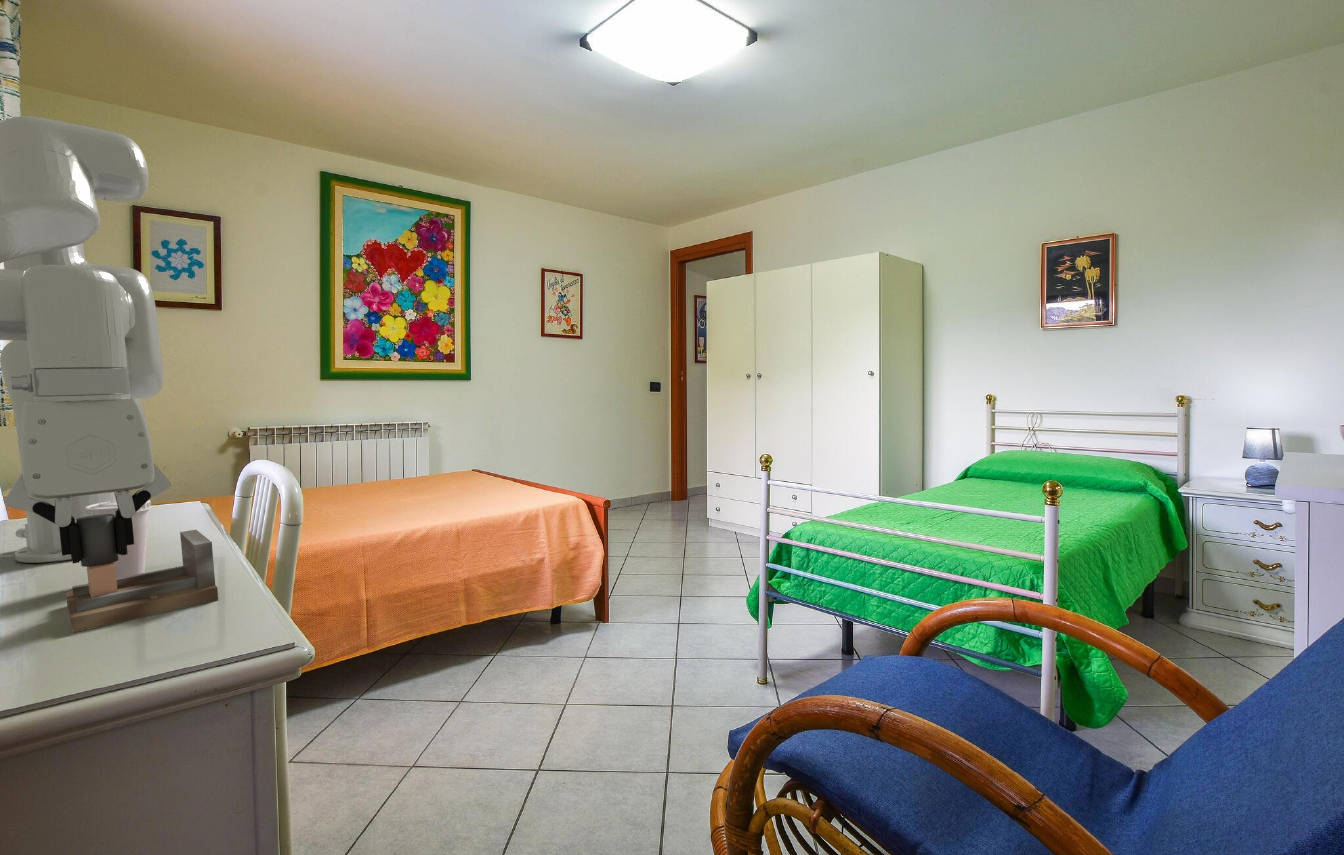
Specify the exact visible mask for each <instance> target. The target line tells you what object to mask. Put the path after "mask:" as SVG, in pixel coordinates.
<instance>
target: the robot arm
mask: <svg viewBox="0 0 1344 855" xmlns="http://www.w3.org/2000/svg"><path fill="white" fill-rule="evenodd" d="M148 168H149V167H148V164H147V161H146V158H145V155H144V153H143V151H142V150H141V148H140V147H139V145H138V144H137V143H136V142H135V141H134V140H133V139H132V138H130V137H128V136H126V135H125V134H123V133H119V132H115V131H109V130H105V129H99V128H95V127H90V126H84V125H79V124H75V123H69V122H66V121H65V122H64V121H60V120H56V119H50V118H45V117H39V116H27V115H26V116H24V115H22V116H14V117H10V118H7V119H5V120H0V264H3V268H0V341H9V342H8V343H7V344H6V345H5V346H3V348H2V349H1V352H0V371H1V374H2V378H3V381H4V383H5V387H6V391H7V392H8V396H9V399H10V403H11V407H12V412H13V417H14V422H15V428H16V436H17V443H18V450H19V460H20V470H21V473H20V474H19V477H17V479H16V481H15V483H14V484H13V485H12V487H11V489H10V490H9V492H8V494H7V495H6V497H5V499H4V505H5V506H6V507H8V508H11V509H17V510H20V511H24V512H26V514H25V515H26V523H25V524H24V528H21V527H20V528H18V529H17V530H16V531H15V536H16V537H17V538H20V539H21V538H22V539H23V538H24V539H26V540H25V541H26V546H25V547H21V548H19V549H18V550H16V551H15V552H14V556H15V557H14V558H15V561H17V562H19V563H26V564H27V563H28V564H29V563H30V564H31V563H32V564H35V563H36V564H37V563H52V562H63V561H68V560H70V561H71V563H72V564H77V563H78V564H79V563H80V562H81V561H82V557H81V547H80V538H79V528H78V524H77V519H78V518H81V517H86V516H85V511H84V508H85V507H87V506H89V505H93V504H97V503H102V502H109V501H111V499H110V492H114V494H115V498H116V502H117V507H118V510H117V511H116V512H115V513H116V515H115V517H114V518H115V529H116V539H117V550H118V554H119V555H120V554H121V555H127V545H133V544H134V535H133V524H132V517H133V516H134V515H135V513H136V512H137V511H138V510H139V509H140V508H141V507H142V506H143V505H144V504H145V503H146V502H147V501H148V500H150V499H152V498H154V497H156V496H157V495H160V494H162V493H163V492H165V491H168V490H169V489H170V488H171V486H172V482H171V481H170V480H169V479H168V478H167V477H166V475H165V474H164V472H162V471H161V469H160V468H159V467H158V466H157V464H156V463H155V461H154V455H153V448H152V442H151V436H150V430H149V429H150V428H149V425H148V421H147V417H146V413H145V410H144V406H143V404H142V401H141V400H142V399H143V400H144V399H148V398H153V397H155V396H156V395H158V394H159V393H160V391H162V389H163V384H164V365H163V356H162V355H163V354H162V348H161V347H162V346H161V340H160V339H161V338H160V332H159V331H160V330H159V324H158V316H157V308H156V302H155V297H154V292H153V289H152V286H151V284H150V282H149V280H148V279H147V277H146V276H145V275H144V274H143V273H142V272H140V271H139V270H137V269H134V268H130V267H126V266H119V265H109V264H96V263H89V262H88V261H87V260H86V256H85V248H84V243H85V242H88V241H89V240H91V239H92V238H94V237H95V235H96V234H97V232H98V231H99V230H100V229H99V228H100V226H101V216H100V214H99V208H98V204H97V203H98V202H97V201H96V200H100V201H107V202H115V203H135V202H137V201H138V202H139V201H140V200H142V199H143V198H144V197H145V195H146V193H147V192H148V188H149V181H150V180H149V178H150V176H149V169H148ZM131 490H137V491H136V492H134V493H133V494H132V491H131Z"/></svg>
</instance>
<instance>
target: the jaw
mask: <svg viewBox="0 0 1344 855" xmlns="http://www.w3.org/2000/svg"><path fill="white" fill-rule="evenodd" d="M77 524H78V528H79V538H80V547H81V557H82V561H80V566H81V567H84V568H86V573H87V582H88V583H87V584H89V593H90V596H91V597H95V596H100V595H105V594H110V593H115V592H118V591H117V581H116V570H115V564H114V562H116V561H118V560H119V559H118V550H117V539H116V529H115V518H114V514H100V515H91V516H86V517H81V518H78V519H77Z"/></svg>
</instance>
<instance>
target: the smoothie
mask: <svg viewBox="0 0 1344 855" xmlns="http://www.w3.org/2000/svg"><path fill="white" fill-rule="evenodd" d="M110 499H111V501H109V502H102V503H97V504H93V505H89V506H87V507H85V508H84V511H85V516H91V515H100V514H114V517H115V515H116V513H115V512H116V511H117V510H118V507H117V502H116V498H115V494H114V492H110ZM151 502H152V501H151V500H150V499H149V500H148V501H147V502H146V503H145V504H144V505H143V506H142V507H141V508H140V509H139V510H138V511H137V512H136V513H135V515H134V516H133V517H132V524H133V535H134V544H133V545H127V555H121V554H120V555H119V554H118V559H119V560H118V561H116V562H114V564H115V570H116V578H121V577H126V576H132V575H137V574H142V573H146V572H145V571H146V559H147V558H146V557H147V556H146V555H147V542H148V541H147V540H148V525H149V510H150V509H152V508H153V506H152V503H151Z"/></svg>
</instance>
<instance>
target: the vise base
mask: <svg viewBox="0 0 1344 855" xmlns="http://www.w3.org/2000/svg"><path fill="white" fill-rule="evenodd" d="M179 534H180V547H181V556H182V558H181V559H182V565H180V566H176V567H170V568H164V569H160V570H158V569H157V570H154V571H150V572H149V571H148V572H145V573H142V574H137V575H132V576H126V577H121V578H116V581H117V591H118V592H115V593H110V594H105V595H100V596H95V597H91V596H90V593H89V584H88V583H85V584H79V585H74V586H71V588H72V591H67V592H65V597H66V599H65V600H66V605H67V611H68V616H69V619H70V625H71V628H72V633H77V632H81V631H87V630H90V629H91V630H92V629H95V628H100V627H103V626H104V627H105V626H108V625H112V624H116V623H117V624H118V623H121V622H126V621H130V620H134V619H139V618H143V617H149V616H153V615H158V614H161V613H162V614H163V613H166V612H172V611H176V610H180V609H184V608H188V607H193V606H198V605H202V604H207V603H211V602H214V601H219V593H218V592H219V591H218V586H217V585H216V578H215V565H214V564H215V563H214V553H213V551H214V550H213V542H212V541H211V540H210V539H208V538H207V537H206V536H205V535H204V534H202V533H201V532H200V531H199V530H197V529H192V530H191V529H190V530H185V531H179Z"/></svg>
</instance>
